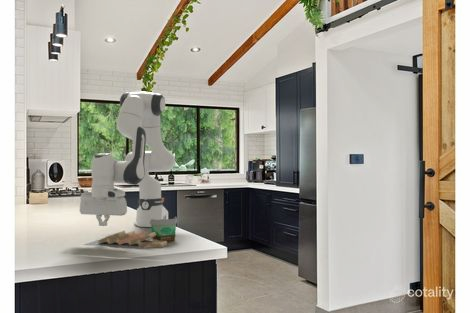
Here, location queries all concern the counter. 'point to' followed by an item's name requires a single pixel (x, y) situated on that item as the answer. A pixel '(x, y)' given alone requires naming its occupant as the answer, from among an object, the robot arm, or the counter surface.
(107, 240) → the maple domino
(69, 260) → the counter surface
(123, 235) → the maple domino
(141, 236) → the terracotta domino
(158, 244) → the maple domino
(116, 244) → the flat board
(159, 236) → the food container
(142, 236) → the maple domino
